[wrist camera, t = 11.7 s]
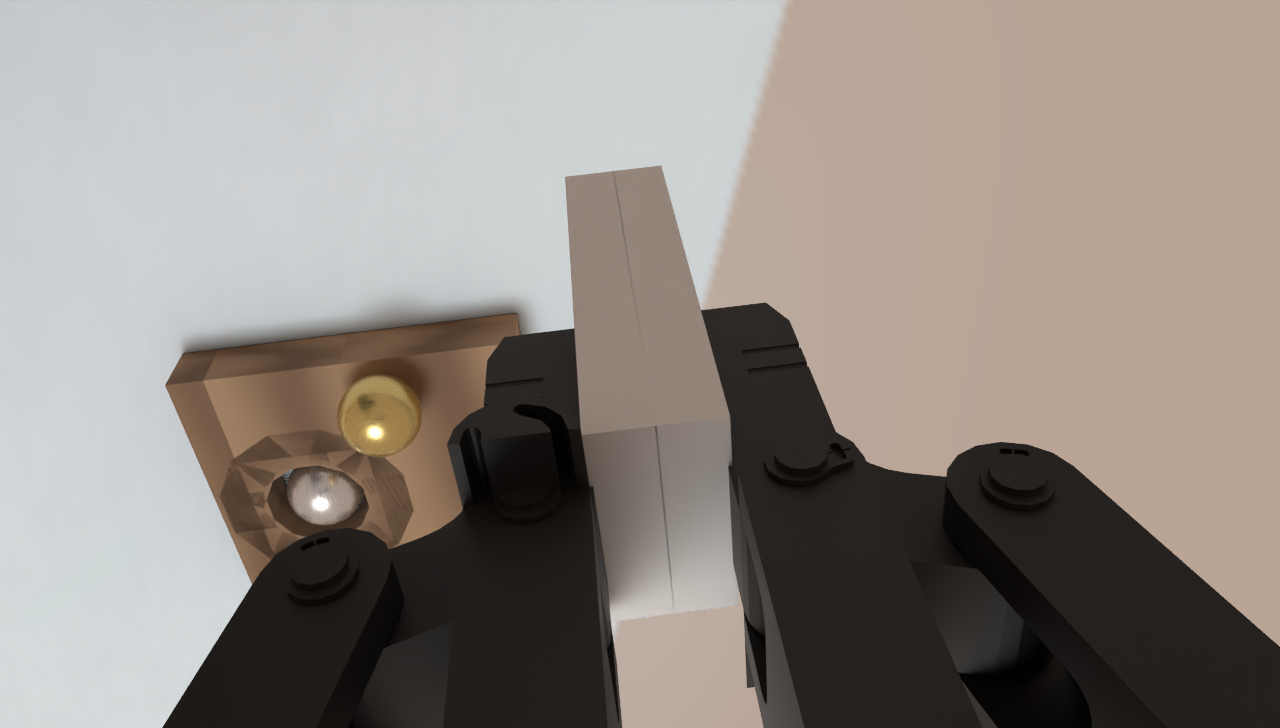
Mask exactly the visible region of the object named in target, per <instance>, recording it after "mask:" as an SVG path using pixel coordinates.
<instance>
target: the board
mask: <svg viewBox="0 0 1280 728" xmlns="http://www.w3.org/2000/svg"><path fill="white" fill-rule="evenodd" d="M517 335H521V334H520V329H519V323H518V318H517V313H515V314H506V315H498V316H490V317H482V318H473V319H465V320H457V321H449V322H440V323H432V324H424V325H416V326H407V327H399V328H391V329H382V330H374V331H366V332H358V333H349V334H341V335H333V336H325V337H316V338H308V339H300V340H292V341H283V342H275V343H267V344H258V345H250V346H242V347H234V348H225V349H217V350H209V351H201V352H192V353H184V354H182V356H181V358H180V360H179V361H178V363H177V365H176V367H175V369H174V371H173V372H172V374H171V376H170V378H169V380H168V381H167V383H166V385H165V386H166V388H167V390H168V393H169V395H170V397H171V400H172V402H173V404H174V406H175V409H176V411H177V413H178V416H179V418H180V420H181V422H182V425H183V427H184V429H185V432H186V434H187V436H188V438H189V441H190V443H191V445H192V448H193V450H194V452H195V454H196V457H197V459H198V461H199V464H200V466H201V468H202V471H203V473H204V475H205V477H206V480H207V482H208V484H209V487H210V489H211V491H212V493H213V496H214V498H215V500H216V503H217V505H218V507H219V509H220V512H221V514H222V516H223V519H224V521H225V523H226V525H227V528H228V530H229V532H230V535H231V537H232V539H233V541H234V544H235V546H236V548H237V551H238V553H239V555H240V557H241V560H242V562H243V564H244V567H245V569H246V571H247V573H248V576H249V578H250V580H251V583H252V585H253V583H254V581H255V580H256V578H257V577H258V575H259V573H260V572H261V571H262V570H263V569H264V567H265V566H266V565H267V564H268V563H269V562H270V561H271V560H272V559H273V557H274V556H275V555H276V554H277V553H279V552H280V551H282V550H283V549H285V548H287V547H288V546H290V545H291V544H293V543H294V542H296V541H297V540H299V539H301V538H304V537H307V536H310V535H313V534H316V533H318V532H321V531H324V530H332V529H343V528H353V529H358V530H363V531H367V532H371V533H373V534H374V535H375V536H377V537H378V538H380V539H381V540H382V541H384V542H385V543H386V545H387V548H388V549H391V548H394V547H397V546H399V545H402V544H405V543H408V542H410V541H413V540H416V539H418V538H421V537H423V536H425V535H428V534H430V533H432V532H434V531H436V530H438V529H440V528H442V527H443V526H445V525H446V524H447V523H449V522H450V521H452V520H453V519H455V518H456V517H457V516H458V515H459V514H460V513H461V512H462V509H463V507H462V503H461V499H460V495H459V491H458V487H457V483H456V479H455V475H454V471H453V467H452V463H451V459H450V455H449V452H448V448H447V443H448V441H449V439H450V436H451V434H452V431H453V429H454V428H455V427H456V426H457V425H458V424H459V423H460V422H461V421H462V420H463V419H465V418H466V417H467V416H468V415H469V414H471V413H473V412H475V411H477V410H479V409H481V408H483V407H484V394H485V389H486V386H485V381H486V368H487V360H488V358H489V357H490V356H491V354H492V353H493V352H494V350H495V349H496V348H497V346H498V345H499V344H500V342H501V341H502V339H503V338H504V337H509V336H517ZM376 374H385V375H390V376H394V377H397V378H399V379H401V380H403V381H404V382H406V383H407V384H408V385H409V386H410V387H411V388H412V389H413V390H414V391H415V393H416V394H417V396H418V398H419V400H420V403H421V407H422V424H421V427H420V430H419V432H418V434H417V436H416V438H415V439H414V440H413V442H412V443H411V444H410V445H409V446H408V447H406V448H405V449H404V450H402V451H401V452H399V453H396V454H394V455H391V456H386V457H372V456H367V455H364V454H362V453H360V452H358V451H356V450H355V449H353V448H352V447H351V446H350V445H349V444H348V443H347V442H346V441H345V440H344V438H343V436H342V435H341V433H340V430H339V427H338V423H337V409H338V405H339V402H340V400H341V398H342V396H343V394H344V393H345V391H346V390H347V389H348V388H349V387H350V386H351V385H352V384H353V383H355V382H356V381H358V380H359V379H361V378H364V377H366V376H370V375H376ZM317 465H319V466H323V467H326V468H330V469H333V470H337V471H341V472H344V473H346V474H347V475H348V476H349V477H350V478H352V479H353V480H354V481H355V482H356V483H358V484H359V485H360V486H361V487H362V488H363V489H364V492H365V494H364V495H363V498H362V501H361V503H360V505H359V506H358V508H357V509H356V511H355V512H354V513H353V514H352V515H351V516H350V517H348V518H347V519H345V520H343V521H341V522H339V523H336V524H332V525H316V524H312V523H309V522H307V521H305V520H304V519H302V518H301V517H299V516H298V515H297V514H296V513H295V511H294V510H293V509H292V507H291V505H290V503H289V500H288V497H287V486H286V485H285V482H284V480H283V477H282V475H283V474H285V473H286V472H288V471H289V470H291V469H293V468H301V467H309V466H317Z"/></svg>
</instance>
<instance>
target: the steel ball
mask: <svg viewBox="0 0 1280 728" xmlns="http://www.w3.org/2000/svg"><path fill="white" fill-rule="evenodd" d="M363 494H364V489H363V488H362V487H361V486H360V485H359V484H358V483H356V482H355V481H354V480H353V479H352V478H350V477H349V476H348V475H347V474H346V473H344V472H341V471H337V470H333V469H330V468H326V467H323V466H319V465H317V466H309V467H301V468H294V469H293V470H292V472H291V474H290V476H289V479H288V483H287V497H288V500H289V503H290V505H291V507H292V509H293V510H294V511H295V513H296V514H297V515H298V516H299V517H301V518H302V519H304V520H305V521H307V522H309V523H312V524H316V525H332V524H336V523H339V522H341V521H343V520H345V519H347V518H348V517H350V516H351V515H352V514H353V513H354V512H355V511H356V509H357V508H358V506H359V505H360V503H361V501H362V498H363Z"/></svg>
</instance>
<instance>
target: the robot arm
mask: <svg viewBox="0 0 1280 728" xmlns="http://www.w3.org/2000/svg"><path fill="white" fill-rule="evenodd" d="M565 181H566V198H567V214H568V230H569V247H570V263H571V279H572V295H573V312H574V328H575V329H567V330H558V331H550V332H542V333H534V334H525V335H517V336H509V337H504V338H503V339H502V341H501V342H500V344H499V345H498V346H497V348H496V349H495V350H494V352H493V353H492V354H491V356H490V357H489V358H488V360H487V368H486V381H485V386H486V389H485V394H484V407H483V408H481V409H479V410H477V411H475V412H473V413H471V414H469V415H468V416H467V417H466V418H465V419H463V420H462V421H461V422H460V423H459V424H458V425H457V426H456V427H455V428H454V429H453V431H452V434H451V436H450V439H449V441H448V443H447V448H448V452H449V455H450V459H451V463H452V467H453V471H454V475H455V479H456V483H457V487H458V491H459V495H460V499H461V503H462V507H463V509H462V512H461V513H460V514H459V515H458V516H457V517H456V518H455V519H453V520H452V521H450V522H449V523H447V524H446V525H445V526H443V527H442V528H440V529H438V530H436V531H434V532H432V533H430V534H428V535H425V536H423V537H421V538H418V539H416V540H413V541H410V542H408V543H405V544H402V545H399V546H397V547H394V548H391V549H388V548H387V545H386V543H385V542H384V541H382V540H381V539H380V538H378V537H377V536H375V535H374V534H373V533H371V532H367V531H363V530H358V529H353V528H343V529H332V530H324V531H321V532H318V533H316V534H313V535H310V536H307V537H304V538H301V539H299V540H297V541H296V542H294V543H293V544H291V545H290V546H288V547H287V548H285V549H283V550H282V551H280V552H279V553H277V554H276V555H275V556H274V557H273V559H272V560H271V561H270V562H269V563H268V564H267V565H266V566H265V567H264V569H263V570H262V571H261V572H260V573H259V575H258V577H257V578H256V580H255V581H254V583H253V585H252V586H251V588H250V589H249V591H248V593H247V594H246V596H245V597H244V599H243V600H242V602H241V604H240V605H239V607H238V608H237V610H236V612H235V613H234V615H233V616H232V618H231V620H230V621H229V623H228V624H227V626H226V627H225V629H224V631H223V632H222V634H221V635H220V637H219V639H218V640H217V642H216V643H215V645H214V647H213V648H212V650H211V651H210V653H209V654H208V656H207V658H206V659H205V661H204V662H203V664H202V666H201V667H200V669H199V670H198V672H197V674H196V675H195V677H194V678H193V680H192V681H191V683H190V685H189V686H188V688H187V689H186V691H185V693H184V694H183V696H182V697H181V699H180V701H179V702H178V704H177V705H176V707H175V708H174V710H173V712H172V713H171V715H170V716H169V718H168V720H167V721H166V723H165V724H164V726H163V728H622V720H621V708H620V697H619V685H618V674H617V663H616V655H615V648H614V642H613V635H612V628H611V622H613V621H621V620H629V619H636V618H644V617H651V616H660V615H667V614H675V613H682V612H691V611H699V610H706V609H713V608H721V607H730V606H737V605H739V597H738V587H739V592H740V596H741V600H742V605H743V609H744V627H745V650H746V673H747V688H750V687H755V690H756V694H757V699H758V703H759V708H760V712H761V717H762V721H763V726H764V728H1280V647H1279V646H1278V645H1277V644H1276V643H1275V642H1274V641H1272V640H1271V639H1270V638H1269V637H1268V636H1267V635H1266V634H1264V633H1263V632H1262V631H1261V630H1260V629H1259V628H1257V627H1256V626H1255V625H1254V624H1253V623H1252V622H1251V621H1250V620H1248V619H1247V618H1246V617H1245V616H1244V615H1243V614H1242V613H1240V612H1239V611H1238V610H1237V609H1236V608H1235V607H1233V606H1232V605H1231V604H1230V603H1229V602H1228V601H1227V600H1226V599H1224V598H1223V597H1222V596H1221V595H1220V594H1219V593H1218V592H1216V591H1215V590H1214V589H1213V588H1212V587H1211V586H1209V585H1208V584H1207V583H1206V582H1205V581H1204V580H1203V579H1202V578H1200V577H1199V576H1198V575H1197V574H1196V573H1195V572H1194V571H1193V570H1191V569H1190V568H1189V567H1188V566H1187V565H1186V564H1185V563H1183V562H1182V561H1181V560H1180V559H1179V558H1178V557H1177V556H1175V555H1174V554H1173V553H1172V552H1171V551H1170V550H1169V549H1167V548H1166V547H1165V546H1164V545H1163V544H1162V543H1161V542H1159V541H1158V540H1157V539H1156V538H1155V537H1154V536H1153V535H1151V534H1150V533H1149V532H1148V531H1147V530H1146V529H1145V528H1143V527H1142V526H1141V525H1140V524H1139V523H1138V522H1137V521H1135V520H1134V519H1133V518H1132V517H1131V516H1130V515H1129V514H1128V513H1126V512H1125V511H1124V510H1123V509H1122V508H1121V507H1120V506H1118V505H1117V504H1116V503H1115V502H1114V501H1113V500H1112V499H1110V498H1109V497H1108V496H1107V495H1106V494H1105V493H1103V492H1102V491H1101V490H1100V489H1099V488H1098V487H1097V486H1096V485H1094V484H1093V483H1092V482H1091V481H1090V480H1089V479H1088V478H1086V477H1085V476H1084V475H1083V474H1082V473H1081V472H1080V471H1078V470H1077V469H1076V468H1075V467H1074V466H1072V465H1071V464H1069V463H1068V462H1066V461H1064V460H1063V459H1061V458H1060V457H1058V456H1057V455H1055V454H1054V453H1051V452H1049V451H1045V450H1042V449H1039V448H1036V447H1033V446H1030V445H1027V444H1015V443H1005V442H998V443H991V444H985V445H978V446H975V447H973V448H971V449H969V450H967V451H965V452H963V453H961V454H959V455H958V456H957V457H956V458H955V460H954V461H953V462H952V464H951V465H950V466H949V468H948V469H947V477H941V476H931V475H921V474H911V473H904V472H899V471H893V470H888V469H884V468H882V467H879V466H876V465H873V464H870V463H868V462H867V461H866V460H865V458H864V456H863V455H862V453H861V452H860V451H859V449H858V448H857V447H856V446H855V444H854V443H853V442H852V441H850V440H848V439H847V438H845V437H843V436H841V435H840V434H838V433H836V432H835V429H834V427H833V424H832V422H831V419H830V417H829V415H828V412H827V410H826V407H825V405H824V403H823V400H822V398H821V395H820V393H819V391H818V389H817V386H816V383H815V381H814V379H813V376H812V374H811V371H810V369H809V367H807V362H806V359H805V357H804V355H803V352H802V350H801V348H799V343H798V340H797V338H796V335H795V333H794V331H793V328H792V326H791V323H790V321H789V320H788V319H787V318H785V317H784V316H783V315H781V314H780V313H779V312H777V311H776V310H775V309H773V308H772V307H771V306H770V305H768V304H767V303H759V304H750V305H742V306H735V307H726V308H717V309H710V310H701V309H700V305H699V302H698V298H697V294H696V291H695V287H694V284H693V280H692V276H691V273H690V269H689V265H688V262H687V258H686V254H685V251H684V247H683V244H682V240H681V236H680V233H679V229H678V225H677V222H676V218H675V214H674V211H673V207H672V204H671V200H670V196H669V193H668V189H667V185H666V182H665V178H664V174H663V171H662V167H661V166H654V167H645V168H637V169H628V170H620V171H612V172H603V173H595V174H586V175H578V176H569V177H565Z"/></svg>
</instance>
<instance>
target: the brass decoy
mask: <svg viewBox="0 0 1280 728" xmlns="http://www.w3.org/2000/svg"><path fill="white" fill-rule="evenodd" d="M337 423H338V427H339V430H340V433H341V435H342V436H343V438H344V440H345V441H346V442H347V443H348V444H349V445H350V446H351V447H352V448H353V449H355V450H356V451H358V452H360V453H362V454H364V455H367V456H372V457H386V456H391V455H394V454H396V453H399V452H401V451H402V450H404V449H405V448H406V447H408V446H409V445H410V444H411V443H412V442H413V440H414V439H415V438H416V436H417V434H418V432H419V430H420V427H421V424H422V407H421V403H420V400H419V398H418V396H417V394H416V393H415V391H414V390H413V389H412V388H411V387H410V386H409V385H408V384H407V383H406V382H404V381H403V380H401V379H399V378H397V377H394V376H390V375H385V374H376V375H370V376H366V377H364V378H361V379H359V380H358V381H356V382H355V383H353V384H352V385H351V386H350V387H349V388H348V389H347V390H346V391H345V393H344V394H343V396H342V398H341V400H340V402H339V405H338V409H337Z"/></svg>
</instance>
